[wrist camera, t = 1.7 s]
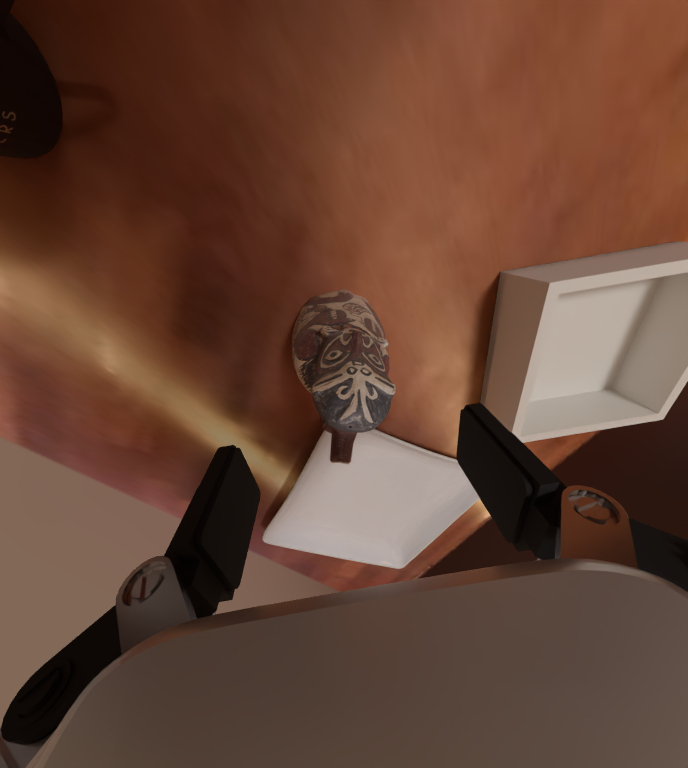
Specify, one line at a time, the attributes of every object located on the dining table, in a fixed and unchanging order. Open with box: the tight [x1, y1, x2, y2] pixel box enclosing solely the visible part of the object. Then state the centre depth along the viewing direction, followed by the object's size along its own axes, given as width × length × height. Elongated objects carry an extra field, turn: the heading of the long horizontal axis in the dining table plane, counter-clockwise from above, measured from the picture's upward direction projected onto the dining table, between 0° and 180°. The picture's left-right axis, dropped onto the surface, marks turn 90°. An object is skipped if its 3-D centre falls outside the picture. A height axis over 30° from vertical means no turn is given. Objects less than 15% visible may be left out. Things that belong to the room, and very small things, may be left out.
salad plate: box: [263, 429, 480, 569], centre depth 31 cm, size 21×21×3 cm
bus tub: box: [480, 242, 688, 443], centre depth 21 cm, size 14×14×5 cm
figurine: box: [292, 289, 396, 464], centre depth 16 cm, size 7×7×12 cm
